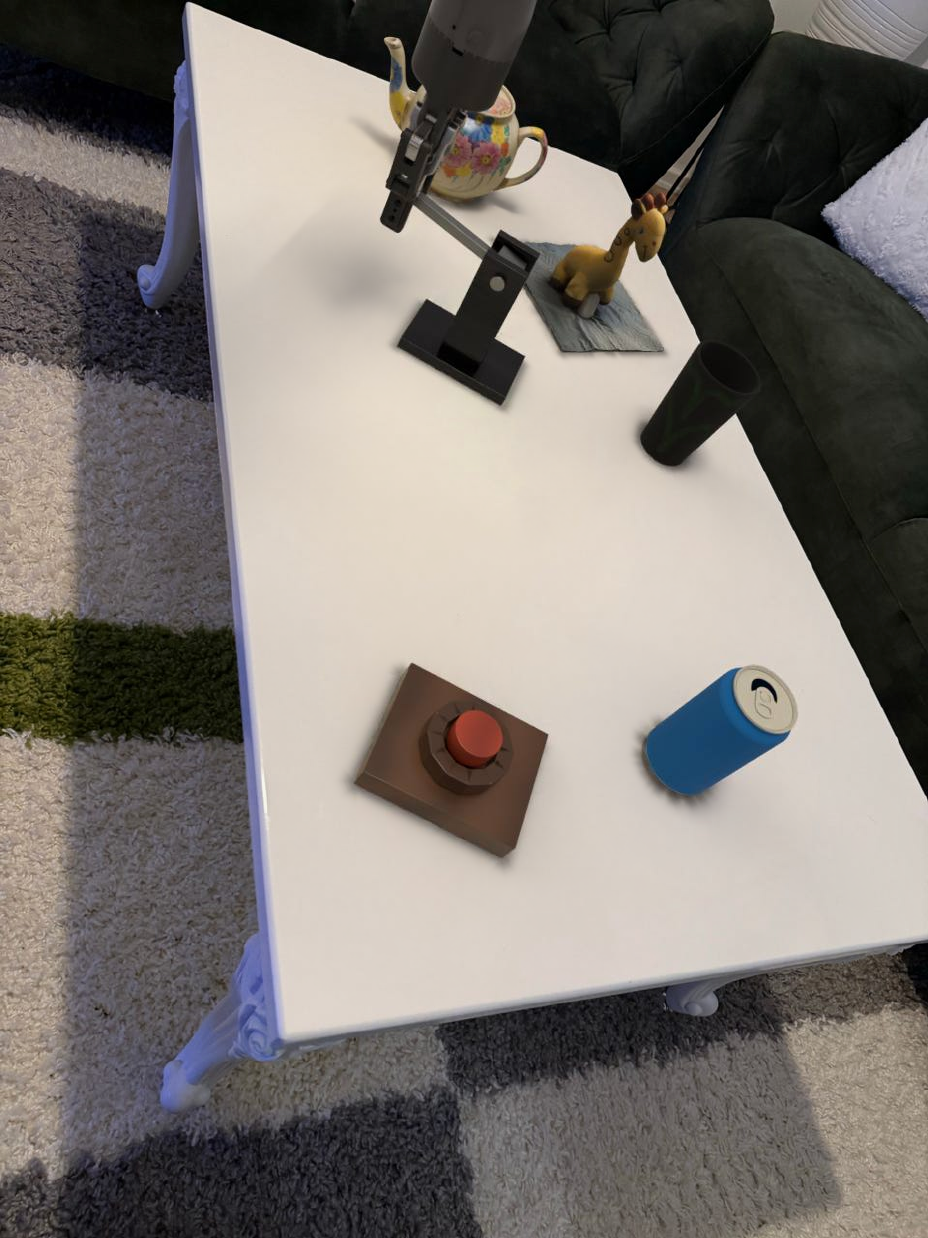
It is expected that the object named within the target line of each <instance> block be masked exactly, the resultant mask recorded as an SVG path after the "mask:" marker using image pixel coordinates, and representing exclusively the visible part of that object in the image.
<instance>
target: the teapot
mask: <svg viewBox="0 0 928 1238" xmlns="http://www.w3.org/2000/svg"><path fill="white" fill-rule="evenodd" d="M383 42H384V44H385V45H386V46H387V48H388V50H389V52H390V59H391V60H390V61H391V63H390V76H389V77H390V78H389V88H388V102H389V110H390V113H391V116H392V118H393V121H394V122H395V123H394V124H396V126H397V128H398V129H399V130H400V132H402V131H404V130H405V128H406V127H407V128H408V127H409V125H410V120H409V119H410V115H411V113H412V111H413V108H414V106H415V104H416V102H417V101H418V100H419V101H421V102H422V100H423V98H424V95H425V93H426V90H425V88H424V87H423V85H422V84H421V85H420V86H419V88H418V89H417V91H416V92H414V91H412V90H411V89H410V88H409V87H408V84H407V78H406V77H407V76H406V75H407V74H406V54H405V49H404V46H403V43H402V41H401V39H400V38H397V37H393V36H387V37H385V38H384V39H383ZM515 111H516V101H515V99H514V97H513V95H512V94H511V92H510V91H509V89H508V88H507V87H506V86H505V85H504V84H503V86H502V88H501V90H500V93H499V95H498V97H497V99H496V102H495V104H494V105H493V106H492V107H491V108H490V109H489V110H487V111H484V112H469V111H468V113H467V115H468V117H467V120H466V123H465V125H464V127H463V128H462V130H461V132H460V133H459V134H458V137H457V140H456V143H455V145H454V147H453V149H452V151H451V153H450V154H449V155H448V156H447V157H446V156H445V157H444V160H443V165H442V167H441V168H440V169H439V170H438V171H437V170H436V171H437V172H436V174H435V176H434V179H433V181H432V184H431V186H430V188H429V191H428V192H430V193H432V194H433V195H435V196H437V197H439V198H441V199H443V200H446V201H449V202H454V203H460V204H461V203H469V202H472V201H474V200H475V199H476V198H478V197H481V196H485V195H487V194H489V193H492V192H496V191H500V190H504V189H507V188H511V187H515V186H518V185H521V184H524V183H526V182H527V181H530V180H531V179H533V178H534V176H536V175H537V174H539V172H540V170H541V169H542V168H543V166H544V164H545V161H546V159H547V157H548V153H549V143H548V138H547V136H546V132H545V131H544V130H543V129H542V128H540V127H537V126H523V127H520V125H519V124H520V123H519V121H518V117H517V116H516V113H515ZM526 138H536V139H537V140H538V142H539V144H540V147H541V150H540V155H539V158H538V160H537V162H536V164H535V165H534V166H533V167H532V168H531V169H530V170H529V171H527V172H525V173H523V174H520V175H519V176H516V177H507V176H508V173H509V171H511V170H510V169H511V168H512V167H513V163H514V162H515V159H516V156H517V153H518V150H519V148H520V147H521V145H522V144H523V142H524V140H525V139H526Z"/></svg>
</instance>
